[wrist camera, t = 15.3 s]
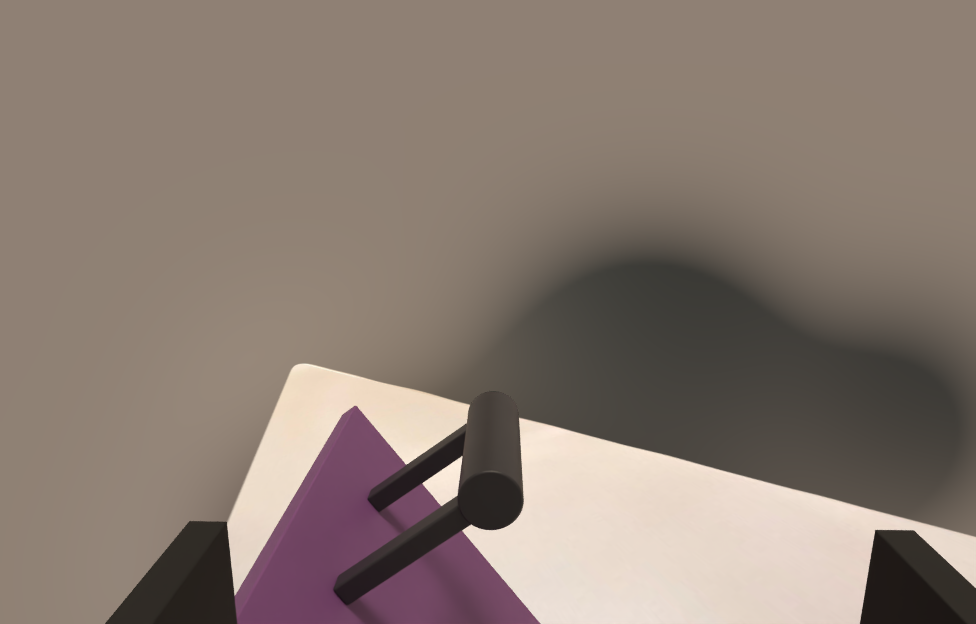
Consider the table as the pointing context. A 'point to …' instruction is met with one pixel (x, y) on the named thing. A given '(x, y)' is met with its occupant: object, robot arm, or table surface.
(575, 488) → the table surface
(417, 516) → the lid
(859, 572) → the table surface
